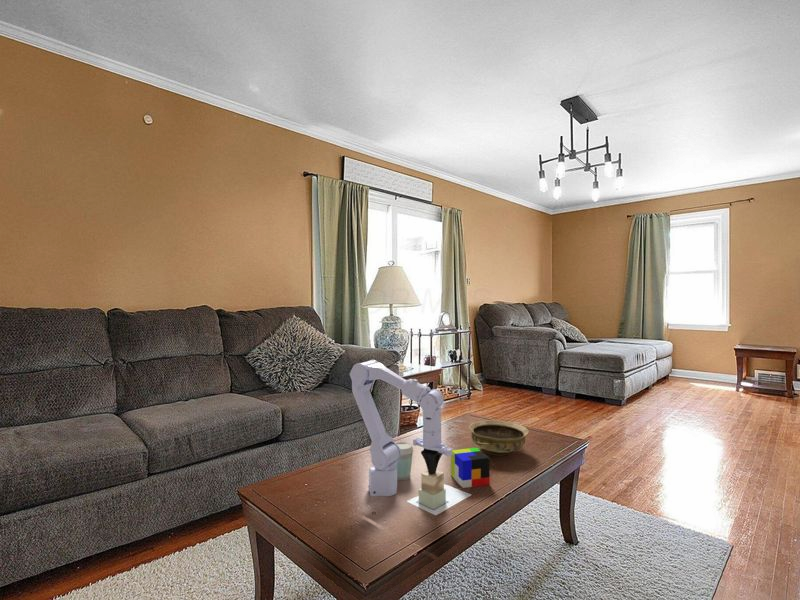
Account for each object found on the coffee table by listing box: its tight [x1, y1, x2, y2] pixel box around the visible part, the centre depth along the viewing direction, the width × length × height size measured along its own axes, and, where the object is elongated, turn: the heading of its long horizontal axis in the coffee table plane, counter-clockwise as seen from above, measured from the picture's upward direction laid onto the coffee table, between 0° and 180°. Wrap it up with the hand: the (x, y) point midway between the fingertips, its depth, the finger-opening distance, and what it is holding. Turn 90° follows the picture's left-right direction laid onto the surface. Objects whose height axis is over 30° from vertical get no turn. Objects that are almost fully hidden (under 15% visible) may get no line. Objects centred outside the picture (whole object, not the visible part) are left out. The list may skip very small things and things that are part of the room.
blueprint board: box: [406, 483, 472, 516], centre depth 136 cm, size 18×12×1 cm, turn 135°
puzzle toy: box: [450, 447, 491, 489], centre depth 150 cm, size 10×10×10 cm
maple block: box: [420, 469, 445, 494], centre depth 134 cm, size 5×5×5 cm
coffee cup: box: [395, 441, 415, 481], centre depth 152 cm, size 8×8×12 cm
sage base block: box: [418, 487, 446, 509], centre depth 134 cm, size 6×6×4 cm
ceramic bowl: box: [468, 419, 529, 456], centre depth 178 cm, size 30×24×10 cm
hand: (432, 473), depth 134 cm, fingers closed
